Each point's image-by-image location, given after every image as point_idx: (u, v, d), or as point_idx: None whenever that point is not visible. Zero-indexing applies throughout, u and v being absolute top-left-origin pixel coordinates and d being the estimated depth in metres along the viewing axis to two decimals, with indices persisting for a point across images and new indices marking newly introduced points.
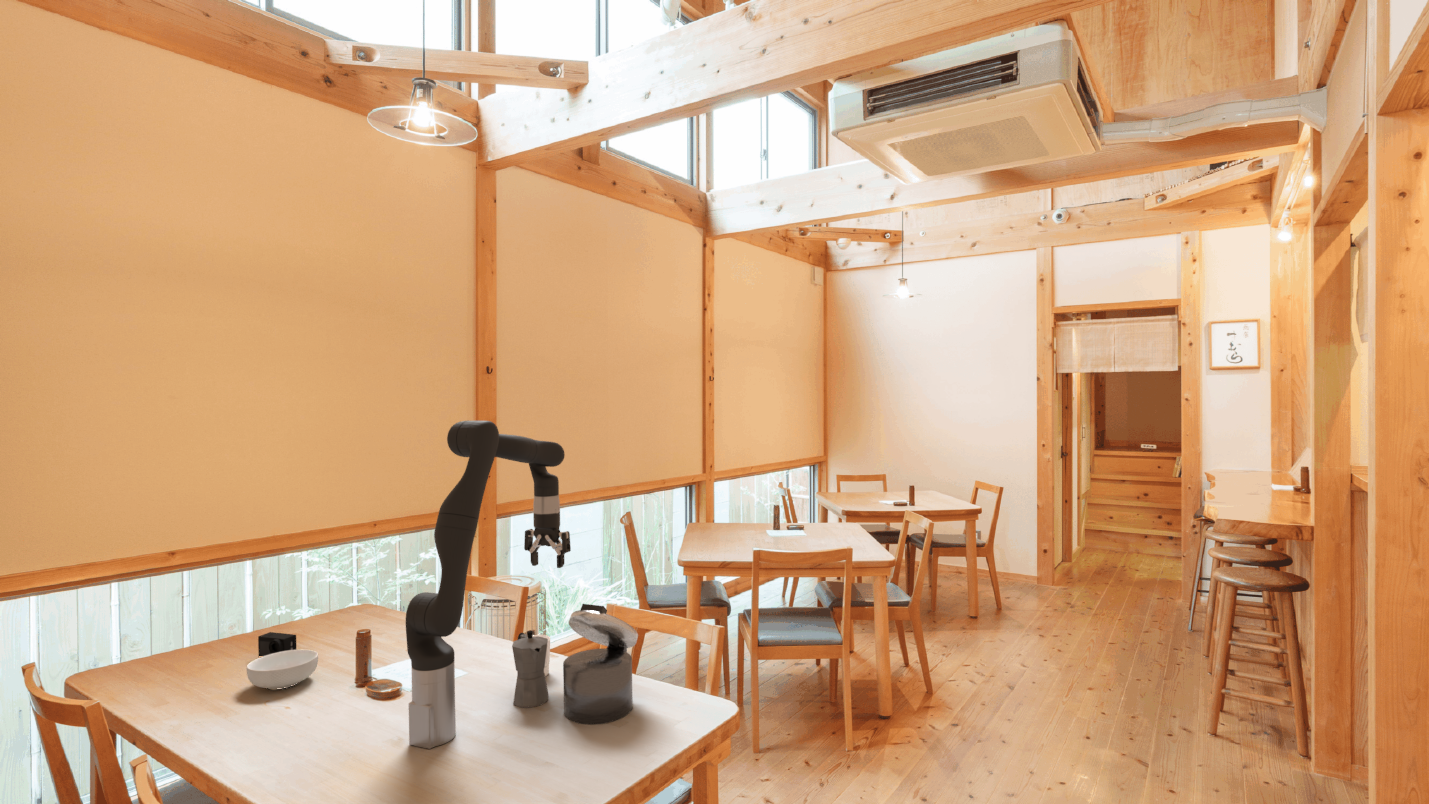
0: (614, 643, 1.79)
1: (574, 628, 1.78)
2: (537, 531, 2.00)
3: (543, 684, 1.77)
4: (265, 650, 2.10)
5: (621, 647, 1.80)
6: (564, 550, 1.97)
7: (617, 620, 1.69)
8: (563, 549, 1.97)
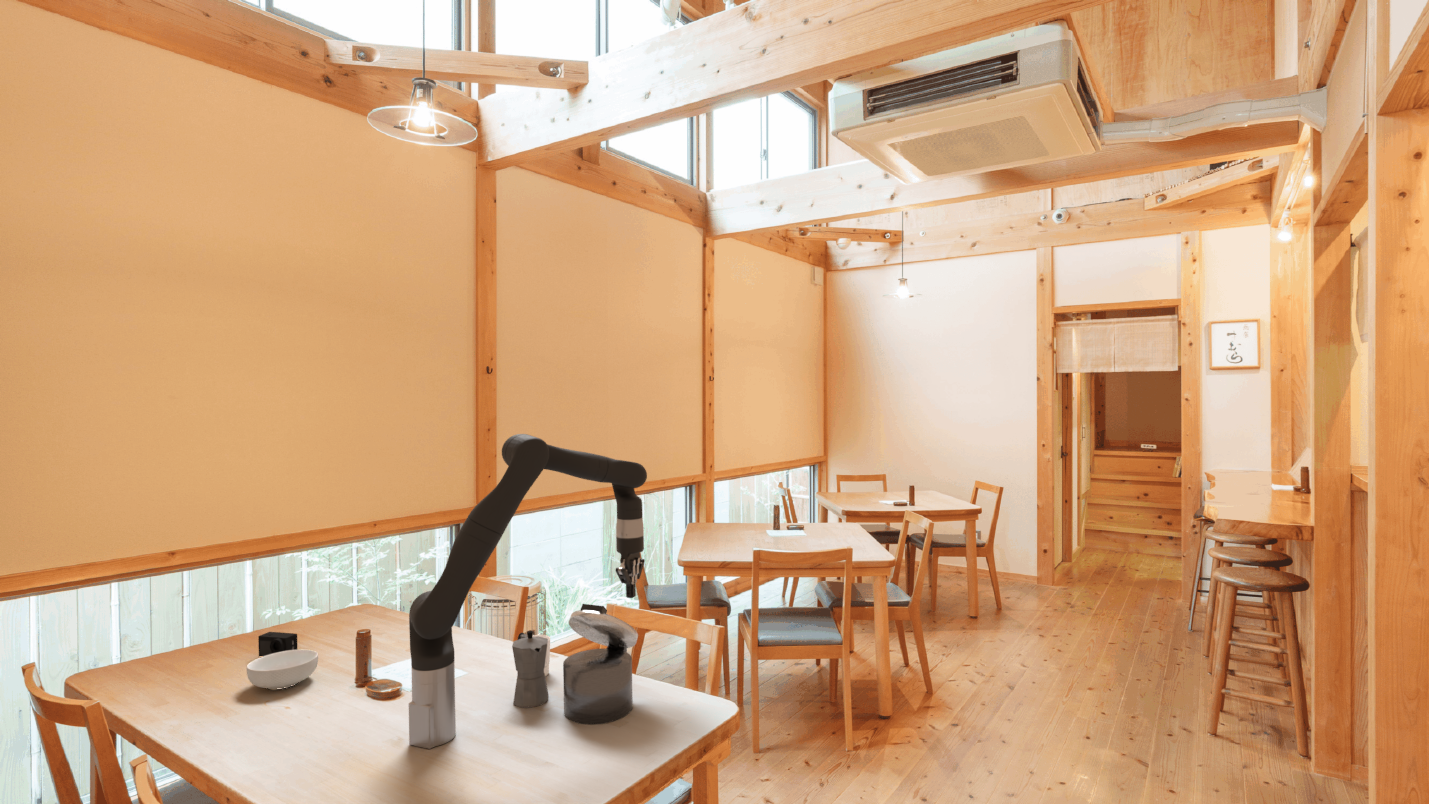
0: (614, 643, 1.79)
1: (574, 628, 1.78)
2: (628, 557, 1.86)
3: (543, 684, 1.77)
4: (266, 649, 2.10)
5: (621, 647, 1.80)
6: (639, 575, 1.91)
7: (617, 620, 1.69)
8: (639, 574, 1.92)
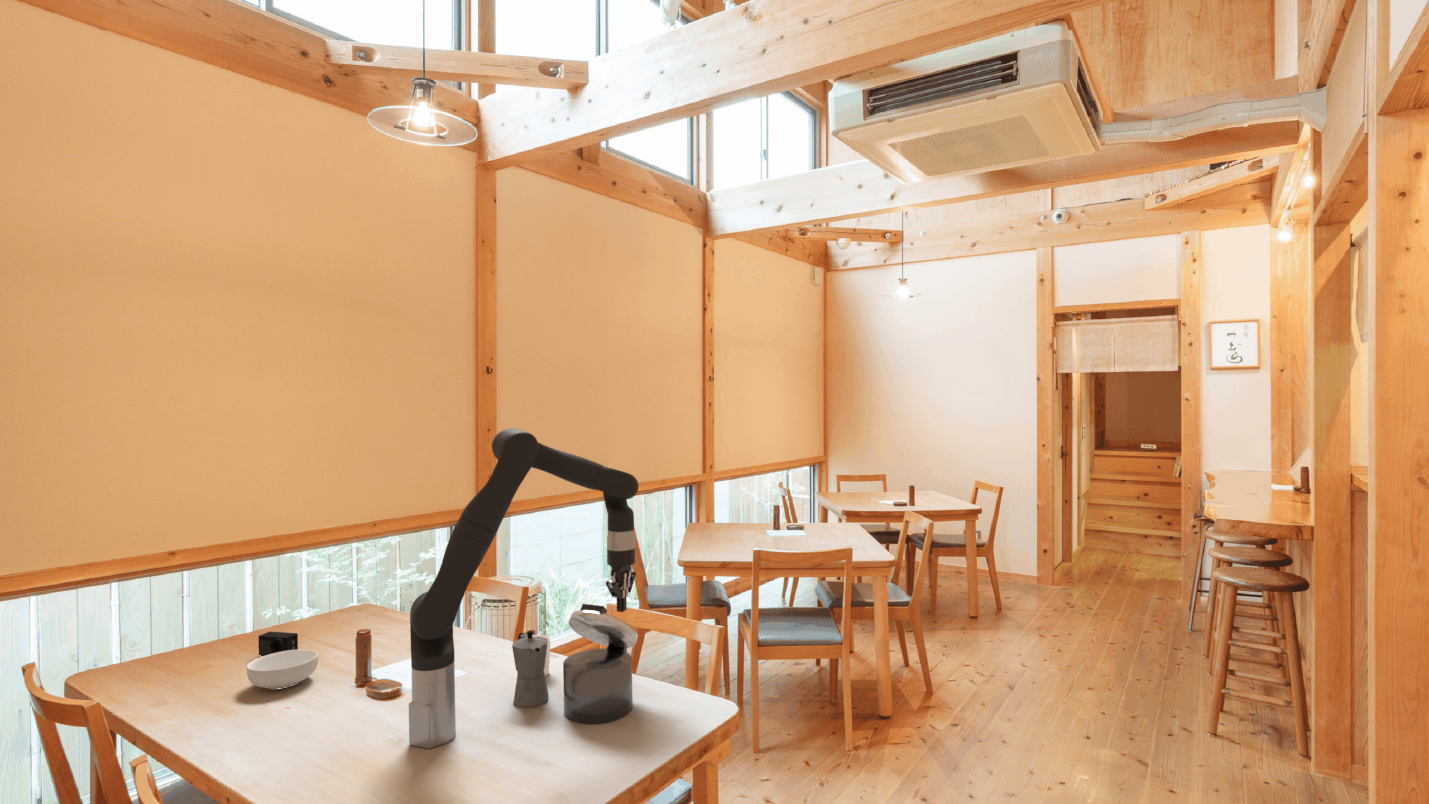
0: (614, 643, 1.79)
1: (574, 628, 1.78)
2: (619, 571, 1.82)
3: (543, 684, 1.77)
4: (266, 649, 2.11)
5: (621, 647, 1.80)
6: (630, 589, 1.87)
7: (617, 620, 1.69)
8: (630, 588, 1.87)
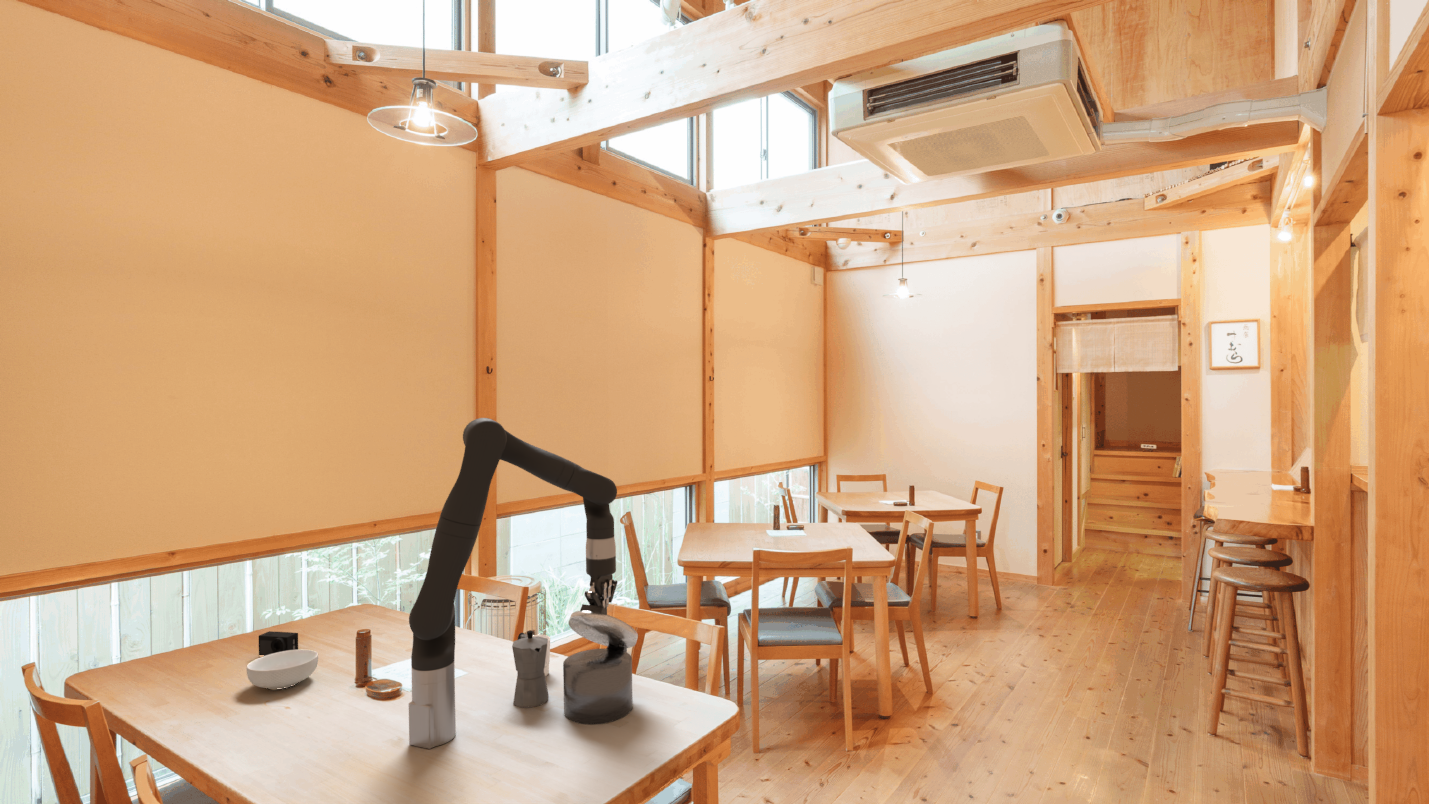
0: (614, 643, 1.79)
1: (574, 628, 1.77)
2: (598, 580, 1.72)
3: (543, 684, 1.77)
4: (266, 649, 2.11)
5: (621, 647, 1.80)
6: (611, 599, 1.77)
7: (617, 620, 1.69)
8: (611, 597, 1.77)
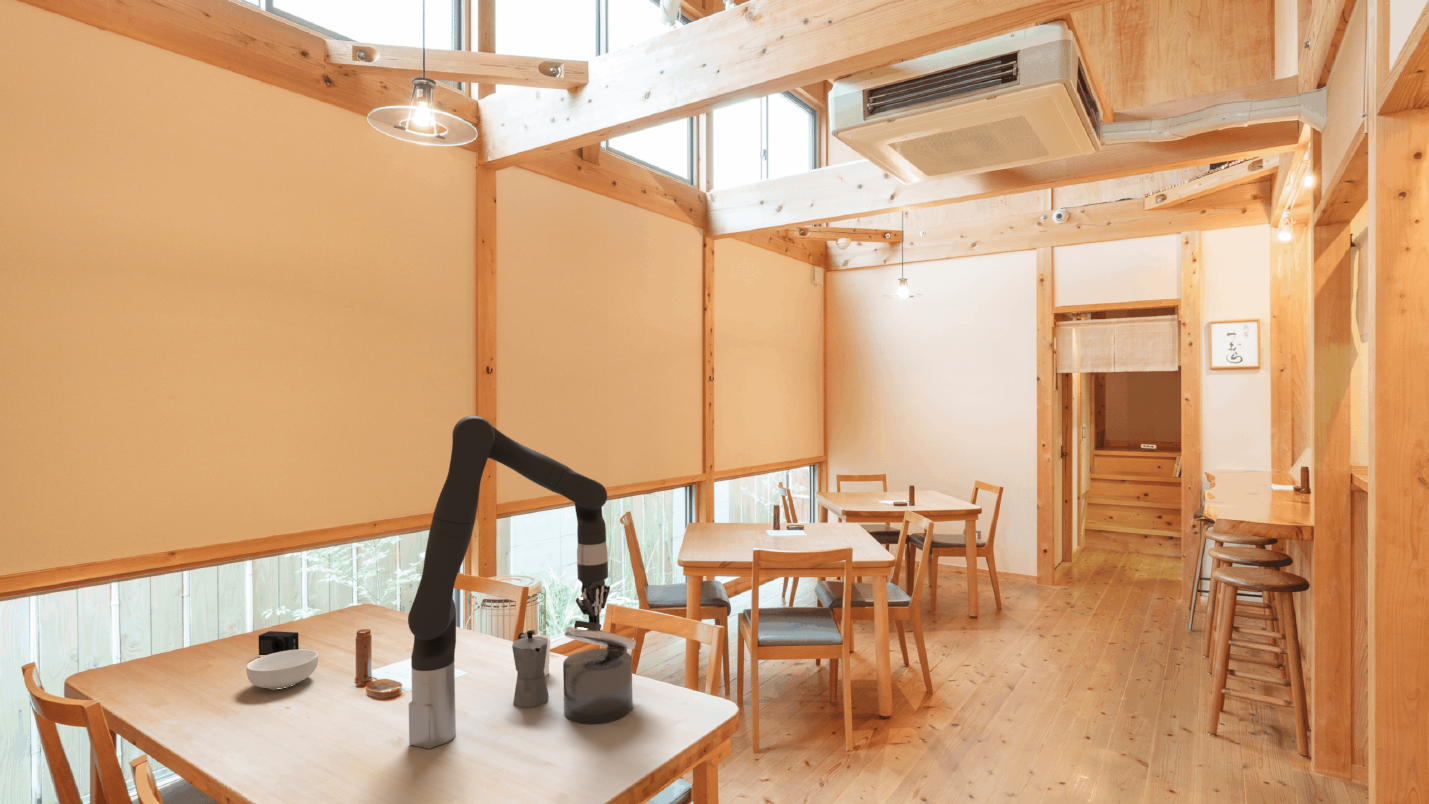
0: (613, 646, 1.78)
1: (571, 637, 1.76)
2: (590, 586, 1.68)
3: (543, 684, 1.77)
4: (266, 649, 2.11)
5: (621, 648, 1.80)
6: (603, 605, 1.74)
7: (612, 635, 1.67)
8: (603, 603, 1.74)
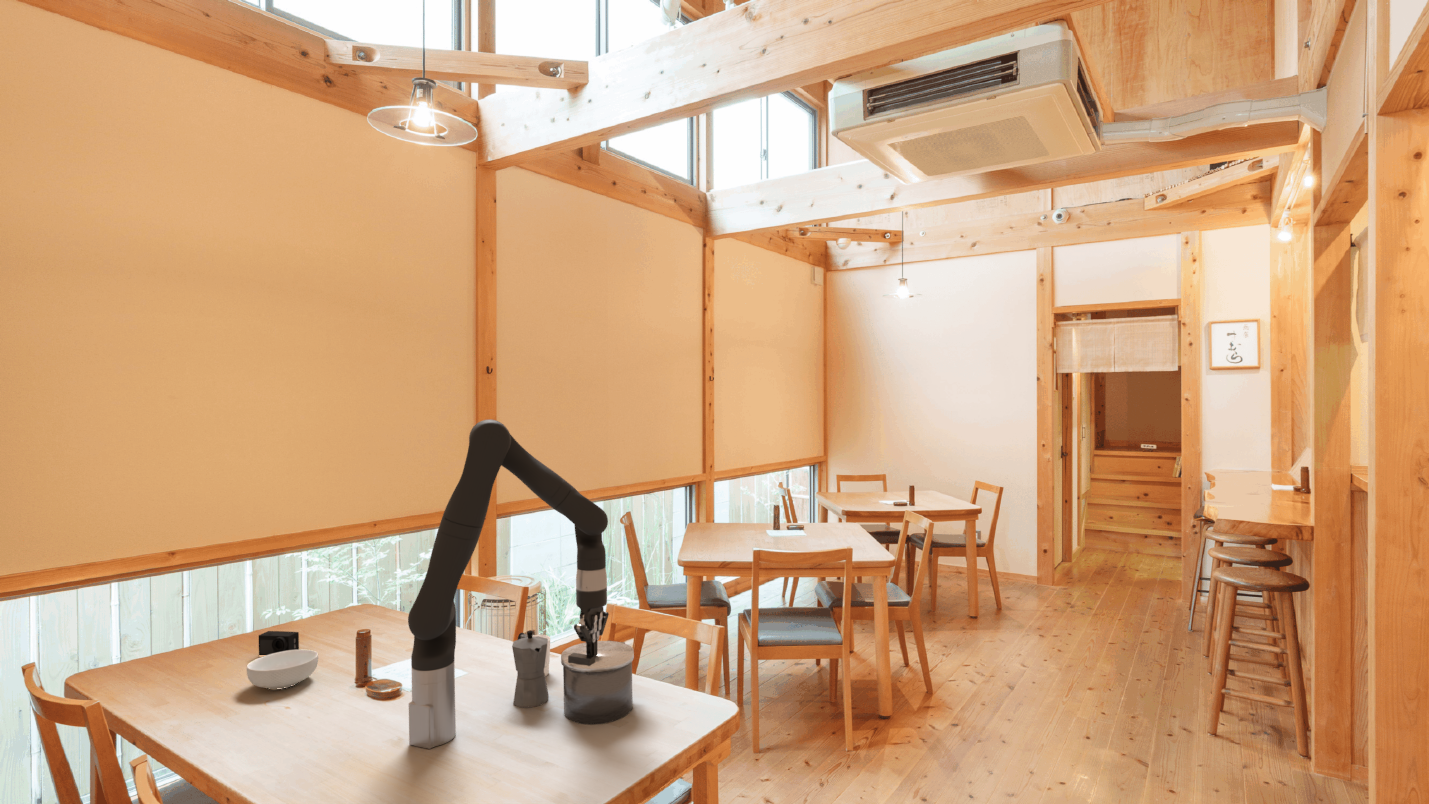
0: None
1: None
2: (588, 613, 1.67)
3: (543, 684, 1.77)
4: (267, 648, 2.11)
5: None
6: (601, 631, 1.72)
7: (608, 666, 1.65)
8: (601, 630, 1.72)
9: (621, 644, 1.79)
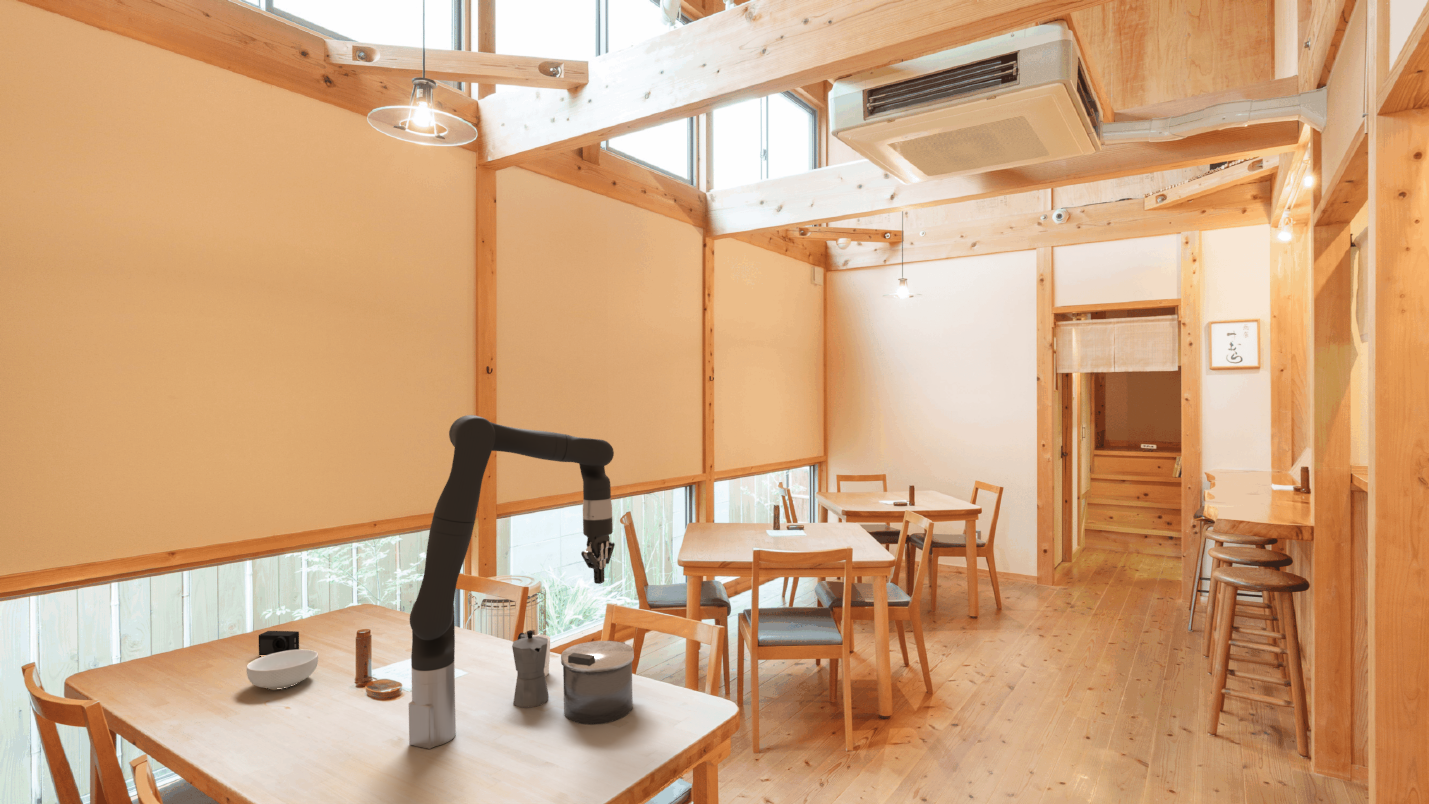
0: None
1: None
2: (595, 540, 1.75)
3: (543, 684, 1.77)
4: (267, 648, 2.11)
5: None
6: (608, 560, 1.80)
7: (608, 666, 1.65)
8: (608, 559, 1.80)
9: (621, 644, 1.79)
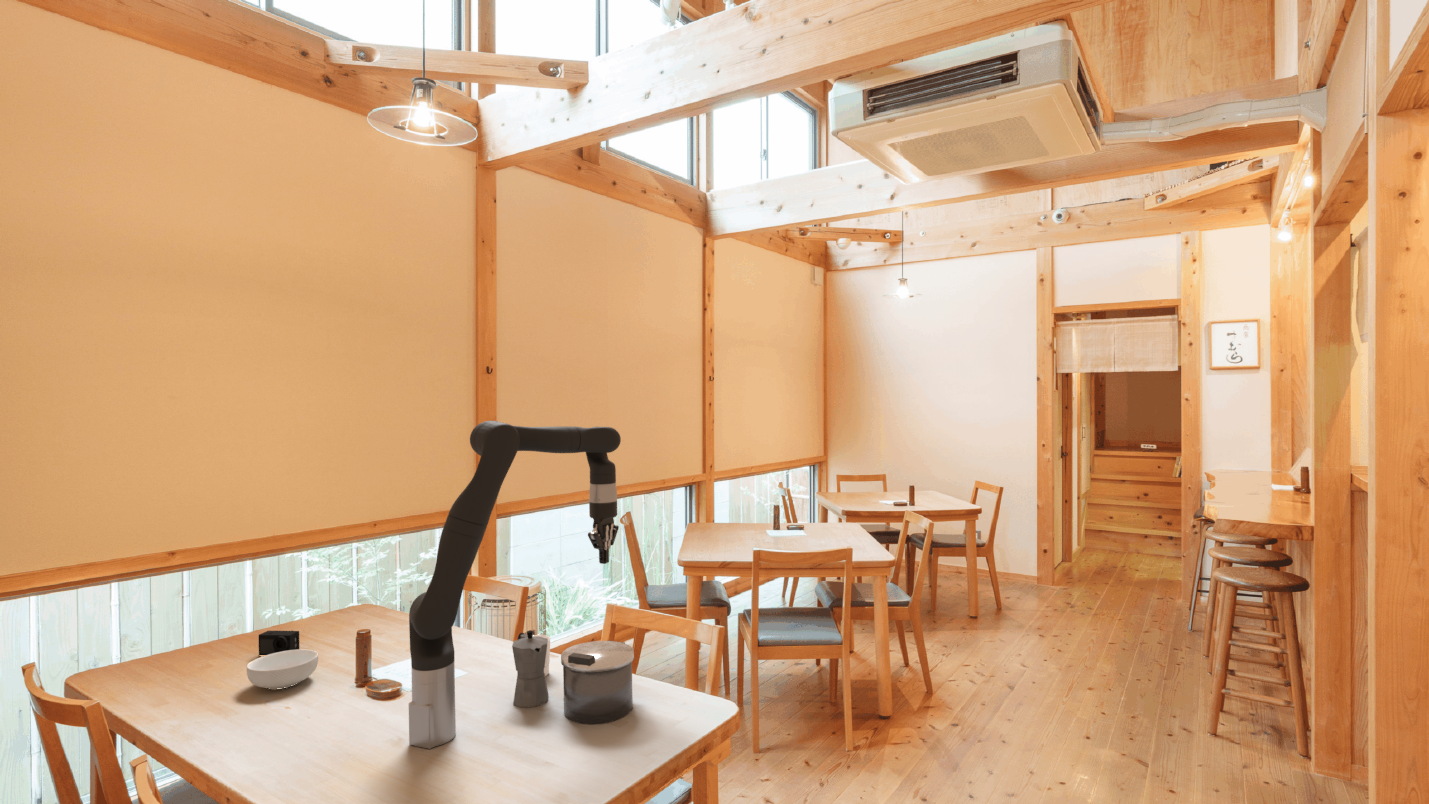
0: None
1: None
2: (601, 522, 1.85)
3: (543, 684, 1.77)
4: (267, 648, 2.12)
5: None
6: (612, 541, 1.90)
7: (608, 666, 1.65)
8: (612, 540, 1.90)
9: (621, 644, 1.79)
